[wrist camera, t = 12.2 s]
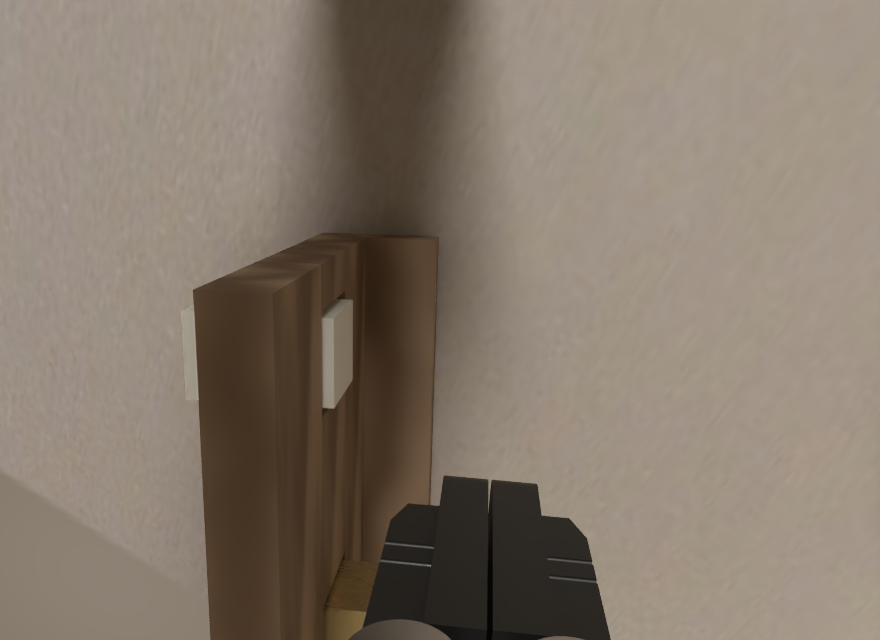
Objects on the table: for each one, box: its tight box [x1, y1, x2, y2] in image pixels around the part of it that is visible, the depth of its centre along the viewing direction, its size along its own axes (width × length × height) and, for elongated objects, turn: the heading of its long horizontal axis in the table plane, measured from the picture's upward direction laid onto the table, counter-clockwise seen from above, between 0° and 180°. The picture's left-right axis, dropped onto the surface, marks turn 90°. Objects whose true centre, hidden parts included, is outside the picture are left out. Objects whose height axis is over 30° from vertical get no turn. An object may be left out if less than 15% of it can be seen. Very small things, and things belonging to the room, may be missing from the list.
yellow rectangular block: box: [324, 560, 379, 640], centre depth 40 cm, size 8×5×5 cm, turn 88°
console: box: [193, 233, 439, 640], centre depth 38 cm, size 8×26×20 cm, turn 178°
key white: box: [181, 299, 353, 409], centre depth 37 cm, size 8×5×5 cm, turn 88°
